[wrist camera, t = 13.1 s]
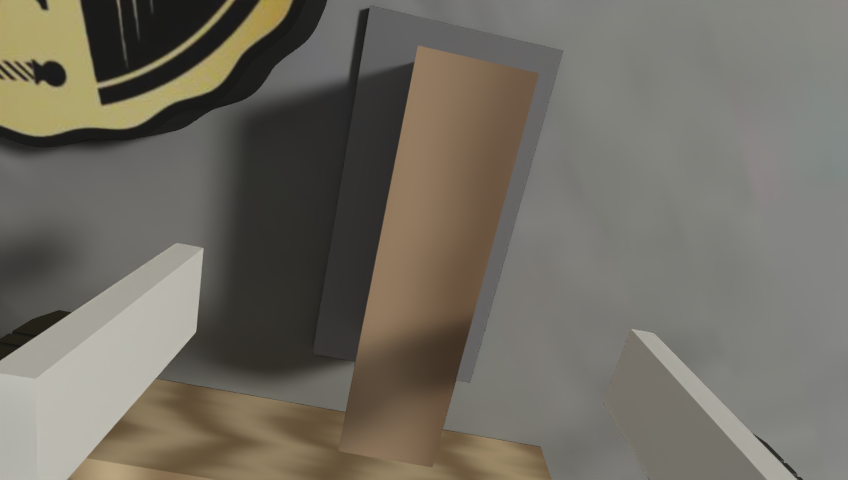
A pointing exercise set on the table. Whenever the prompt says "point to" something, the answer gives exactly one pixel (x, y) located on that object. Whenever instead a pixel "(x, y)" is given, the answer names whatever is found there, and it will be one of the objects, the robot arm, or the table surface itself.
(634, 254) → the table surface
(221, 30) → the sign
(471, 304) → the brown wooden block
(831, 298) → the table surface
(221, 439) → the rack
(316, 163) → the table surface
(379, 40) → the mat
